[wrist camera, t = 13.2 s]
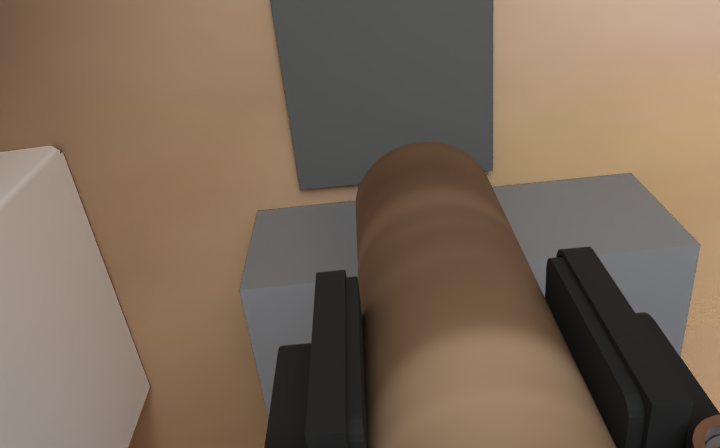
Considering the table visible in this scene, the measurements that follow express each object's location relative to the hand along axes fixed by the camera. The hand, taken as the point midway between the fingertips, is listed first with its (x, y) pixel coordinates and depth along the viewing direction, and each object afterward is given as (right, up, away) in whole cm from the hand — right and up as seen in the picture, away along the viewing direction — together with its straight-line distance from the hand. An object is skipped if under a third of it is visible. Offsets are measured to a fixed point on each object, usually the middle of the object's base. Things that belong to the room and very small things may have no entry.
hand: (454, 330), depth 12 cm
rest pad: (-1, +7, +13) cm, 15 cm away
